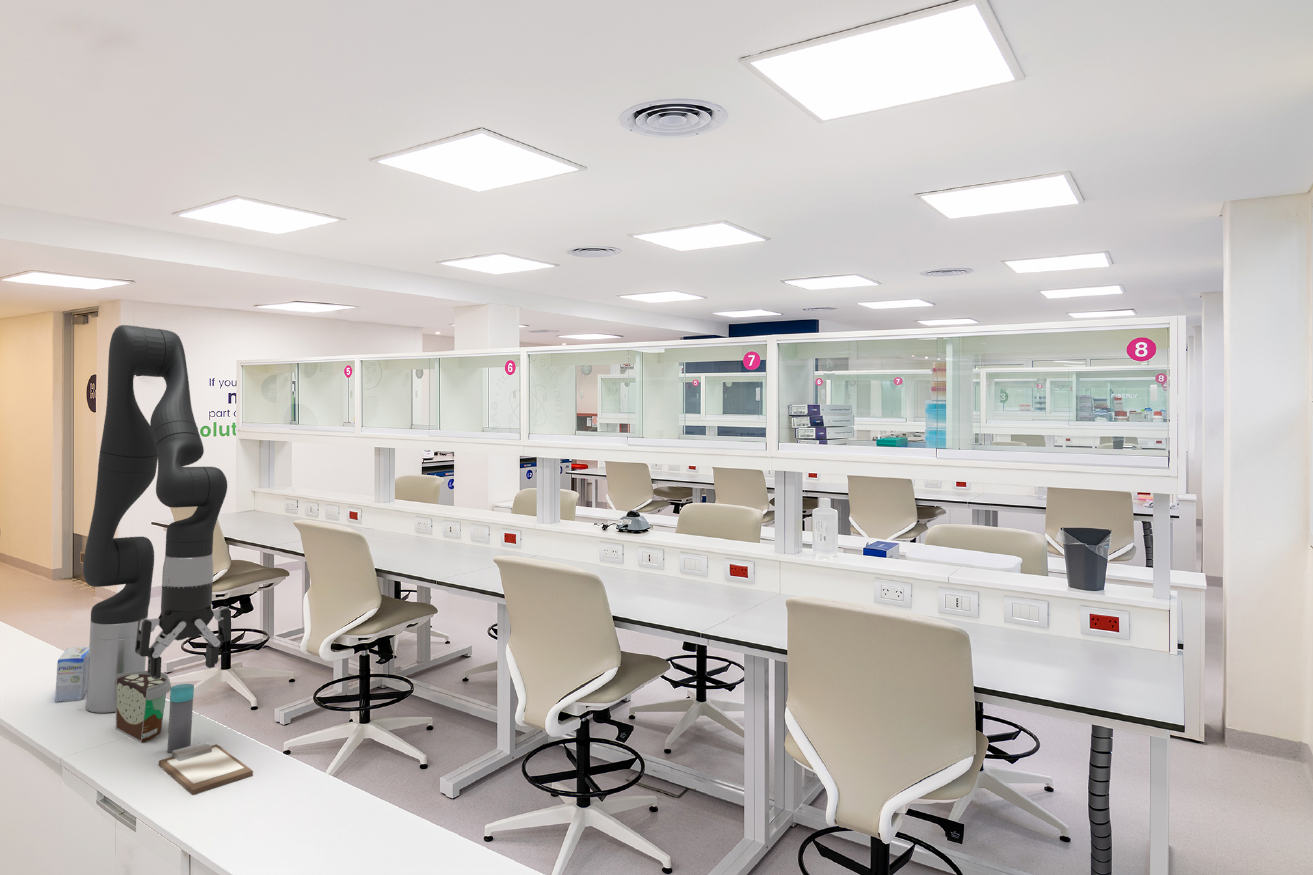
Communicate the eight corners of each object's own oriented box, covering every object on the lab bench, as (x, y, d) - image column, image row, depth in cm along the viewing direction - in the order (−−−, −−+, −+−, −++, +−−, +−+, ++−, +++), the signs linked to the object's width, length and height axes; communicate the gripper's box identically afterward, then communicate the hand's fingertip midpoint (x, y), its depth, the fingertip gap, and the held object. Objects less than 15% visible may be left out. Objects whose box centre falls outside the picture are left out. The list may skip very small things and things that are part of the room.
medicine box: (63, 689, 153) (66, 647, 153) (90, 686, 155) (92, 645, 155) (54, 702, 146) (56, 659, 146) (82, 700, 148) (84, 657, 148)
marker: (163, 749, 130) (167, 686, 129) (186, 743, 132) (189, 682, 132) (171, 755, 127) (175, 692, 127) (194, 749, 130) (197, 687, 130)
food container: (182, 733, 136) (185, 680, 136) (145, 745, 131) (148, 689, 130) (148, 716, 142) (151, 665, 142) (111, 726, 137) (114, 673, 137)
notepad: (158, 765, 124) (158, 754, 124) (216, 748, 131) (216, 738, 131) (192, 794, 115) (193, 783, 115) (252, 775, 123) (253, 764, 122)
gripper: (222, 572, 137) (218, 658, 137) (132, 582, 126) (128, 676, 126) (240, 578, 133) (236, 668, 133) (149, 589, 121) (144, 687, 122)
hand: (183, 672), depth 130 cm, fingers open, 8 cm apart
